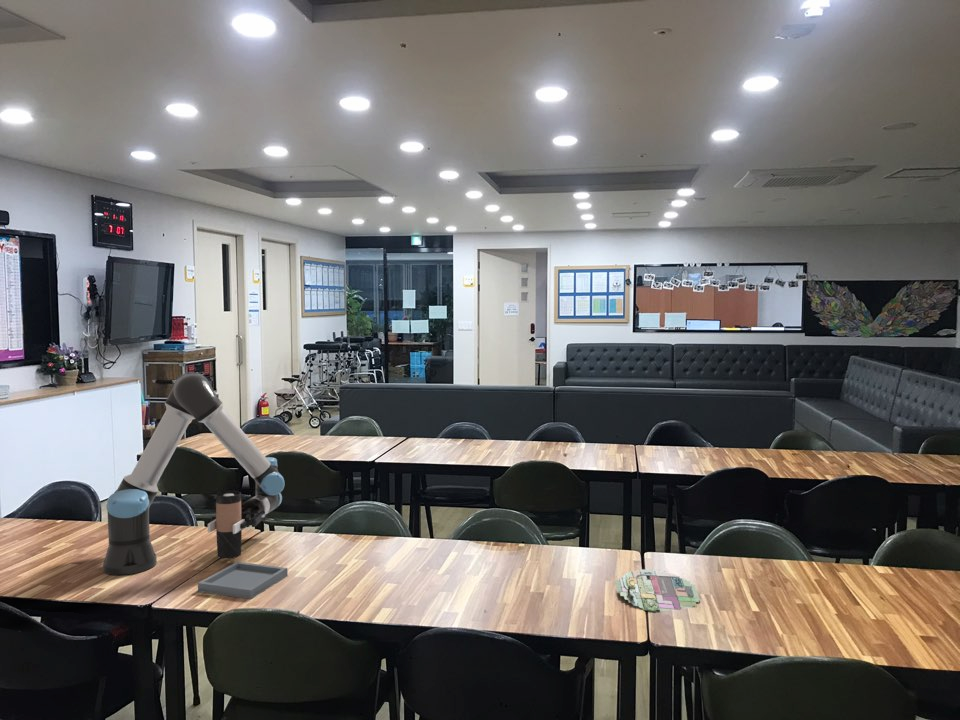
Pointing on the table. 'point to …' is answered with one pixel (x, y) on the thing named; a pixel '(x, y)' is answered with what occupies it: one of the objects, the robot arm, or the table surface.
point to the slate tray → (243, 580)
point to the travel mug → (228, 524)
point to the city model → (657, 590)
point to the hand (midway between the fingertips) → (221, 528)
